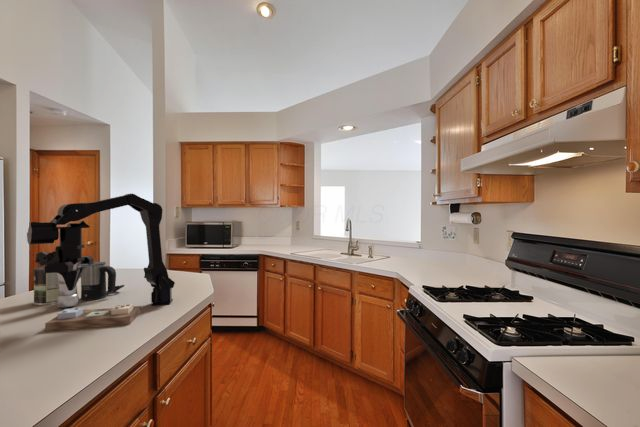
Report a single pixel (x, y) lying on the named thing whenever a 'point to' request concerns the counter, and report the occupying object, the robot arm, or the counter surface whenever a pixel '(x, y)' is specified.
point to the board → (93, 320)
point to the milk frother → (97, 281)
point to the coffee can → (45, 287)
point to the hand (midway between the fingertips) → (70, 290)
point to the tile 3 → (122, 309)
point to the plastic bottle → (66, 294)
